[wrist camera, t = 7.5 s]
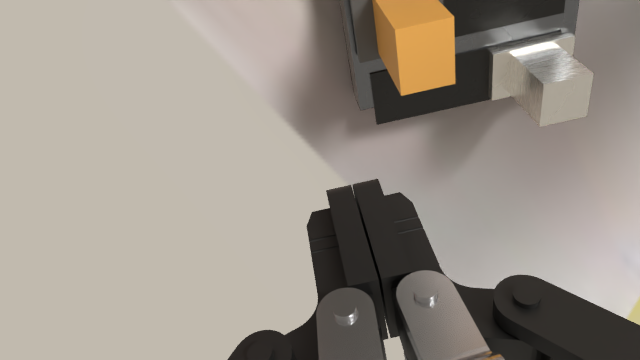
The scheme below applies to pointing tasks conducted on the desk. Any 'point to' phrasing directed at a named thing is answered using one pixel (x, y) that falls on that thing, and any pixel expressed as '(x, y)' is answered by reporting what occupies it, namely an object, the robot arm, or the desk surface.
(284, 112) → the desk surface
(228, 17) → the desk surface
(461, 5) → the panel
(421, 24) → the orange rectangular block
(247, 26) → the desk surface
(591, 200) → the desk surface
